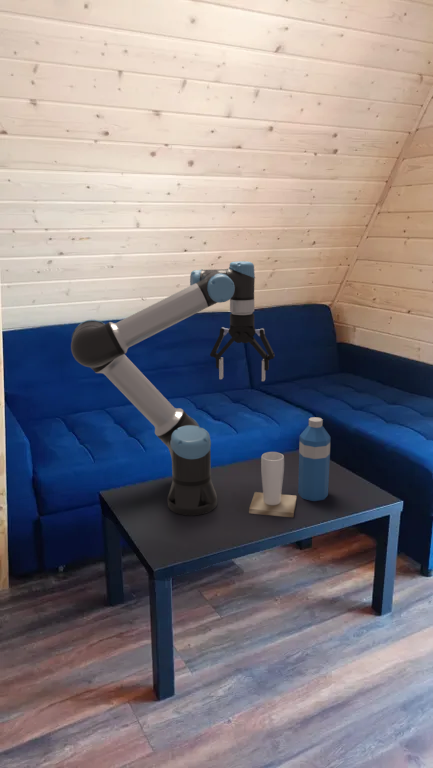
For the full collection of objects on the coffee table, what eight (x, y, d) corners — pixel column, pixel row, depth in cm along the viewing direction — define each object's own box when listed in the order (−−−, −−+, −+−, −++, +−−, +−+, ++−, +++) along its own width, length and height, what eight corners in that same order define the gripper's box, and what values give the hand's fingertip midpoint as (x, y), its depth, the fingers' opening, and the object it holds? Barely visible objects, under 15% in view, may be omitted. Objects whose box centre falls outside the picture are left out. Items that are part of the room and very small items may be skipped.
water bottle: (327, 488, 188) (330, 414, 181) (328, 501, 179) (332, 425, 172) (298, 486, 189) (300, 413, 182) (298, 500, 180) (300, 424, 173)
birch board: (249, 513, 173) (249, 508, 172) (254, 496, 183) (254, 492, 183) (293, 517, 170) (293, 512, 169) (296, 500, 180) (296, 495, 180)
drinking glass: (285, 498, 178) (286, 453, 174) (280, 508, 172) (281, 461, 168) (264, 495, 180) (264, 450, 176) (258, 505, 174) (258, 459, 170)
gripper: (284, 311, 180) (282, 377, 186) (205, 310, 186) (206, 374, 192) (281, 315, 173) (280, 384, 179) (199, 313, 179) (201, 380, 185)
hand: (242, 379), depth 185 cm, fingers open, 13 cm apart
